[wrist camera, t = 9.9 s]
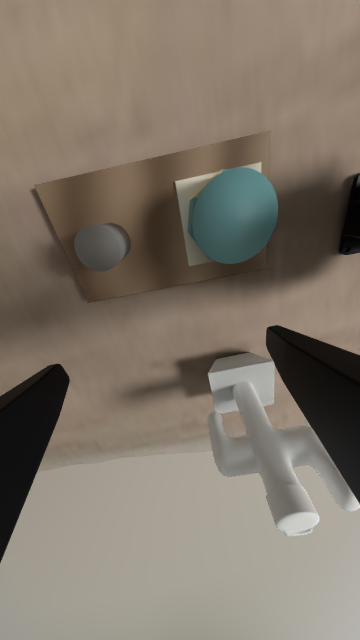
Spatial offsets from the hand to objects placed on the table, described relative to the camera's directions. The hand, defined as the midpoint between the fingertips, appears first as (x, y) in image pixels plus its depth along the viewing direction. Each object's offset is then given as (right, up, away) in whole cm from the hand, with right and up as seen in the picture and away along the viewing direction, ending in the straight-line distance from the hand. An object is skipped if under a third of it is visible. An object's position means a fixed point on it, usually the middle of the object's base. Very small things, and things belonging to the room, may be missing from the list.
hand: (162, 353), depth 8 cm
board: (-1, +9, +9) cm, 13 cm away
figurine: (+8, -5, +18) cm, 20 cm away
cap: (+4, +10, +8) cm, 13 cm away
